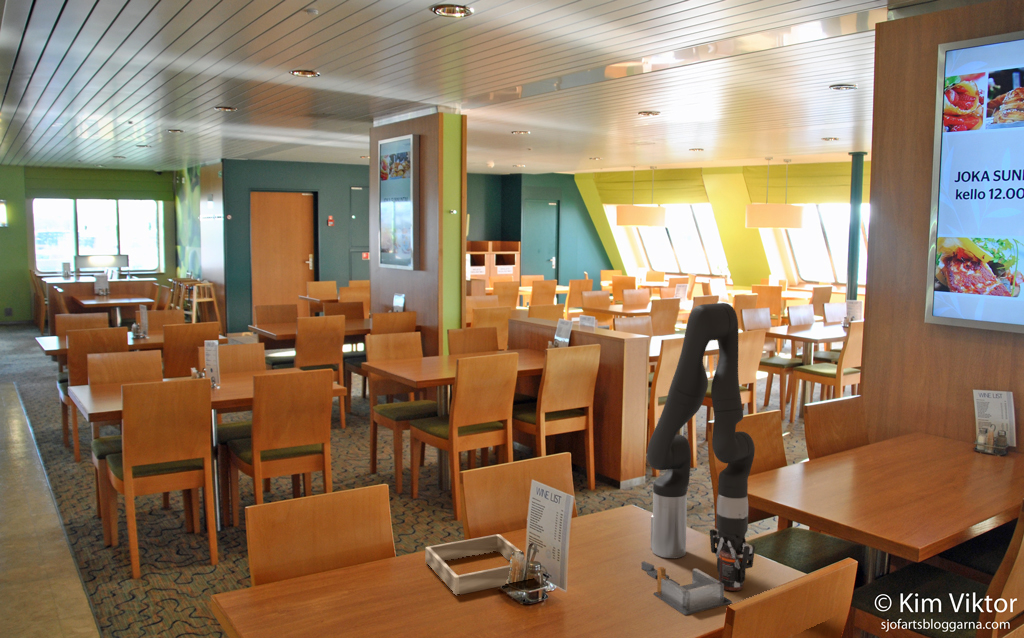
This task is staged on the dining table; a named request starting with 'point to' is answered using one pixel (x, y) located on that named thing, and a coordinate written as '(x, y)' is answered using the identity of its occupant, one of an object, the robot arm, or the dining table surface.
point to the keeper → (691, 592)
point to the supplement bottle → (728, 570)
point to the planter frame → (468, 548)
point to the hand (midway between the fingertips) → (730, 576)
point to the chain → (653, 571)
